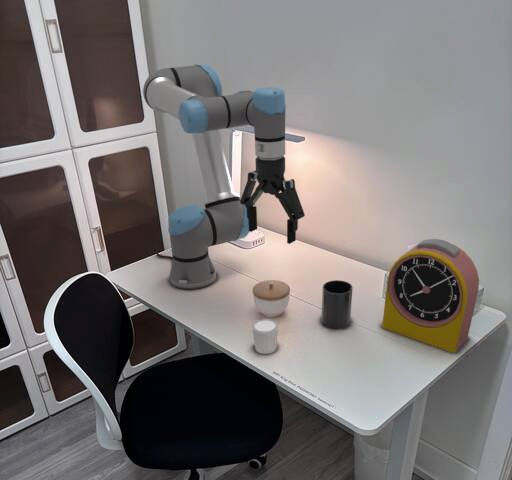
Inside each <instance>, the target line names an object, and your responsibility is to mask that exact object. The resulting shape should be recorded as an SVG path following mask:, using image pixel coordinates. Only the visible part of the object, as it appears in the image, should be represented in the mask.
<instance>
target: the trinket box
mask: <svg viewBox="0 0 512 480" xmlns="http://www.w3.org/2000/svg"><path fill="white" fill-rule="evenodd" d="M290 292H291V287H290V285H289V284H288V283H287V282H284V281H281V280H276V279H268V280H263V281H259V282H257V283H256V284H255V285H254V286H253V287H252V294H253V295H252V296H253V302H254V306H255V307H256V309H257V311H258V312H260V313H261V314H262V315H263V316H265V317H268V318H275V317H279V316H281V315H282V314H283V312H284V311H286V309H287V307H288V306H289V302H290V294H291V293H290Z"/></svg>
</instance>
